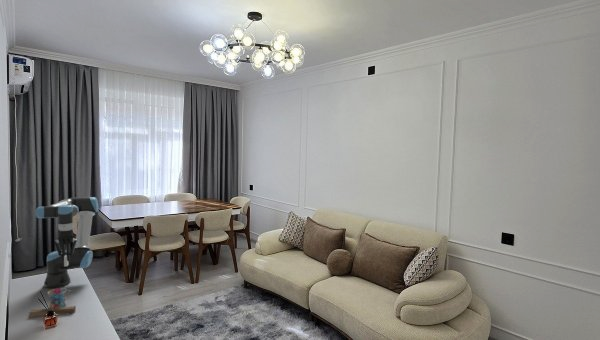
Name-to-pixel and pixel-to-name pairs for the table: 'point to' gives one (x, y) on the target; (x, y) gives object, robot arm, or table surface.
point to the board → (57, 310)
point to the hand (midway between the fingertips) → (66, 265)
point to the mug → (57, 297)
